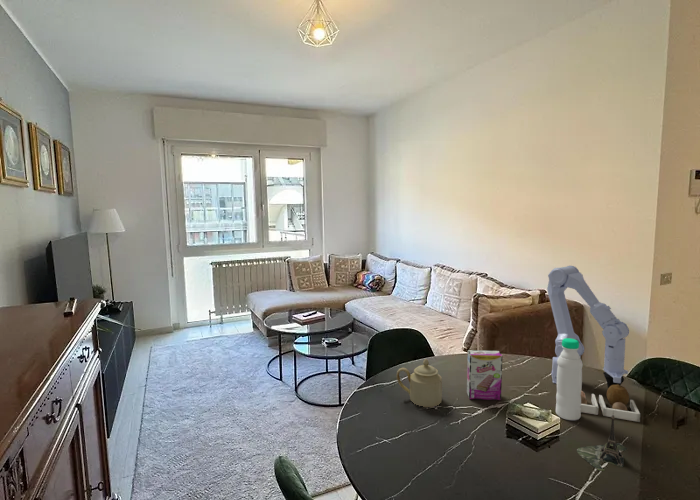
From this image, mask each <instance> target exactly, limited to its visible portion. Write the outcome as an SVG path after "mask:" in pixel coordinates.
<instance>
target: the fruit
mask: <svg viewBox="0 0 700 500" xmlns="http://www.w3.org/2000/svg"><path fill="white" fill-rule="evenodd" d="M606 398H607V402H608V403H609V404H610V405H611V406H613V404H614V403H616V402H621V403H623V404H624V405H625V406H626V407H627V405H628V403H630V394H629V392H628V390H627V389H626V387H625V386H623V385H618V384H617V385H611V386H610V387H609V388H608V387H607V390H606Z"/></svg>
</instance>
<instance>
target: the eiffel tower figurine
mask: <svg viewBox="0 0 700 500" xmlns="http://www.w3.org/2000/svg"><path fill="white" fill-rule="evenodd" d="M614 421H615V418H614V415H612V417H611V425H610V431H609V437H607V442H606V443H605V444H597V445H589V446H580V447H577V449H576V452H577V454H578V455H579V456H580V458H582V459H584V460H585V461H586V462H587V463H588V464H590V466H592V467H593V468H595V469H596V470H597V471H605V469H604V468H603V466H602V465H601V462H604V463H607V464H610V465H611V464H612V465H614V466H617V467H621V468H623V467H624V463H625V462H624V461H625V456H624V455H623V454H622V453H621V452H626V451H627V450H628V448H627V447H626V446H624V445H623V444H622V443H621V442H616V437H615V424H614V423H615V422H614Z"/></svg>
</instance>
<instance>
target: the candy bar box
mask: <svg viewBox="0 0 700 500" xmlns="http://www.w3.org/2000/svg"><path fill="white" fill-rule="evenodd" d="M466 361H467V365H466V366H467V371H466V394H467V398H468V399H469V400H484V401H485V400H486V401H487V400H488V401H489V400H490V401H501V400H502V384H503V381H502V380H503V354H501V352H500V351H499V350H481V349H480V350H478V349H477V350H475V349H474V350H473V349H471V350H470V349H468V350H467V360H466Z"/></svg>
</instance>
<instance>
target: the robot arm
mask: <svg viewBox="0 0 700 500" xmlns="http://www.w3.org/2000/svg"><path fill="white" fill-rule="evenodd" d="M547 277H548V284H547V288H546V289H547V294H548V298H549V302H550V306H551V311H552V316H553V318H554V319H553V320H554V323H555V327H556V332H557V335H556V336H557V337H556V338H555V340H554V342H555V349H554V352H555V355H556V356H553V357H552V367H551V378H552V383H553V384H557V368H558V364H557V359H558V357H559V356H560V354H561V352H562V351H563V347H562V340H563V339H565V338H571V339H575V340H577V341H578V342H579V348H578V350H577V353H578V354H579V356H580V357H581V356H582V355H583V354H584V353H585V346H584V344H583V343H582V340H580V337H579V335H578V334H576V333H575V330H574V327H573V323H572V319H571V315H570V311H569V307H568V303H567V299H566V295H565V291H566V290H567V288H569V289H573V290H575V291H576V293H578V295H579V296H580V297H581V298H582V299H583V301H585V303H586V304H587V306H589V314H590V315H591V316H592V317H593V318H594V320H595V321H596V322H597V324H598V325H599V326H600V327H601V329H602V330H601V333H602V335H603V337H604V339H605V343H604V345H605V346H604V362H603V363H604V364H603V367H602V369H603V371H604V372H603V376H604V378H605V380H606V381H605V382H606V385H607V386H606V387H607V389H608V388H609V387H610V386H611V385H617V384H618V385H620V386H622V384H623V382H624V381H625V378H624V375H627V374H629V371H628V369H625V356H626V355H625V354H626V338H627V337H629V335H630V329H629V327H628V325H627V323H625V322H623V321H621V320H620V319H619V318H617V317H616V315H615V314H614V312H612V308H611V306H610V305H607V304H606V303H604V302H601V301H599V299H598V298H597V296H596V294H595V293H594V292H593V291H592V289H591V287H590V286H589V285H588V283H587V282H586V280H585V278H584V275H583V274H582V272H580V271H579V269H578V268H577V267H576V266H574V265H567V266H562V267H554V268H553V269H552V270H551V271H550V272H549V273H548V274H547Z"/></svg>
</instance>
